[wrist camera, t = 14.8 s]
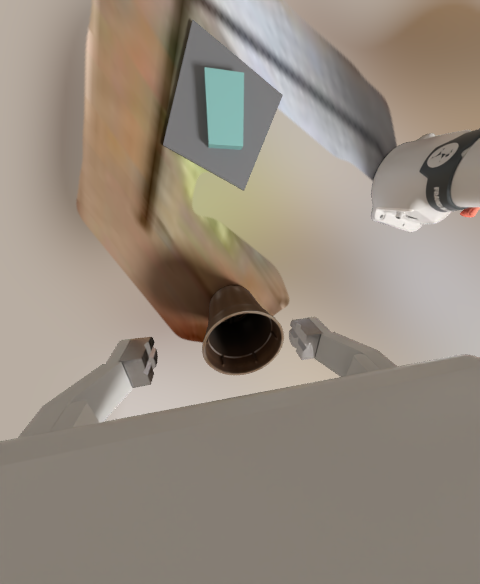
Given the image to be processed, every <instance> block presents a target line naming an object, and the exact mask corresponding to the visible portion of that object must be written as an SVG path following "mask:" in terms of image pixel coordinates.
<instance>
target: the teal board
mask: <svg viewBox="0 0 480 584" xmlns="http://www.w3.org/2000/svg"><path fill="white" fill-rule="evenodd" d="M204 78H205V96H206V114H207V131H208V148H219V149H235V150H241V149H242V147H243V120H244V73H243V72H236V71H229V70H222V69H215V68H207V67H205V69H204Z"/></svg>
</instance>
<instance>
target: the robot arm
mask: <svg viewBox="0 0 480 584" xmlns="http://www.w3.org/2000/svg"><path fill="white" fill-rule="evenodd" d="M371 196H372V203H373V208H372V213H371V219H372V220H374V221H376V222H380V223H383V224H386V225H389V226H392V227H395V228H398V229H401V230H404V231H408V232H414V231H416V230H417V229H419V228H420V227H421V226H423V225H424V224H435V223H438V222H440V221H441V220H443V219H444V218H445V217H447V215H449V214H450V213H451V212H453V211H457V210H462V209H464V210H463V211H462V212H461V213H460V215H462V216H465V217H474V216H475V215H476V213H477V211H478V210H479V209H480V129H479V130H475V131H470V130H464V131H459V132H453V133H448V134H444V135H438V136H435V134H433V133H430V134H426V135H424V136H422V137H421V138H419V139H418V140H416V141H413V142H406V143H403V144H401V145H399V146H397V147H396V148H395V149H393V150H392V151H391V152H390V153H389V154H388V155H387V156H386V157H385V159H384V160H383V161H382V163H381V164H380V166H379V168H378V170H377V172H376V174H375V177H374V180H373V184H372V193H371ZM291 327H292V329H291V330H290V331H289V339H290V342H291V344H292V346H294V347H295V348H297V350H296V352H297V354H298V355H299V357H300V358H301V360H304V359H311V358H315V359H316V360H318V361H319V362H320V363H322V364H323V365H325V366H326V367H328V368H329V369H330V370H332V371H333V372H335V373H336V374H338V375H339V376H341V377H339V378H334V379H329V380H323V381H318V382H313V383H307V384H302V385H297V386H291V387H286V388H281V389H275V390H270V391H265V392H260V393H255V394H249V395H244V396H238V397H233V398H228V399H222V400H217V401H212V402H207V403H201V404H196V405H191V406H185V407H180V408H175V409H169V410H164V411H160V412H154V413H148V414H143V415H138V416H133V417H127V418H122V419H116V420H112V421H106V422H104V421H105V420H106V418H107V417H108V416H109V415H110V414H111V413H112V412H113V411H114V409H115V408H116V407H117V406H118V404H120V402H121V401H122V400H123V399H124V398H125V397H126V396H127V395H128V393H129V392H130V391H131V390H132V389H133V388H135V387H140V386H145V385H150V384H151V381H152V378H153V375H154V372H153V369H154V368H155V367H156V364H157V357H158V356H157V350H156V348H154V347H153V345H154V340H153V338H152V337H147V338H135V339H127V340H121V341H120V342H119V343H118V344H117V346H116V348H115V349H114V351H113V353H112V354H111V356H110V358H109V359H108V361H107V362H106V364H102V365H101V366H99V367H98V368H96V369H95V370H94V371H92V372H91V373H89V374H88V375H87V376H85V377H84V378H82V379H81V380H79V381H78V382H77V383H75V384H74V385H72V386H71V387H69V388H68V389H67V390H65V391H64V392H62V393H61V394H59V395H58V396H57V397H55V398H54V399H52V400H51V401H49V402H48V403H47V404H45V405H44V406H43V407H42V408H41V409H40V411H39V412H38V413H37V414H36V416H35V417H34V418H33V419H32V421H31V422H30V423H29V424H28V426H27V427H26V428H25V429H24V431H23V432H22V433H21V434H20V436H19V437H18V438H16V439H11V440H5V441H0V584H480V357H476V356H472V355H466V354H465V355H455V356H450V357H445V358H440V359H435V360H429V361H424V362H419V363H414V364H408V365H403V366H396V365H395V364H394V363H392V362H391V361H390V360H389V359H388V358H387V357H385V356H384V355H383V354H382V353H380V352H379V351H378V350H376V349H373V348H371V347H368V346H366V345H363V344H361V343H359V342H356V341H354V340H352V339H349V338H347V337H345V336H342V335H340V334H337V333H335V332H331V331H330V330H329V329H328V328H327V327H326V326H324V324H323V323H322V322H321V321H320V320H319V319H318V318H316V317H309V318H303V319H296V320H292V321H291Z"/></svg>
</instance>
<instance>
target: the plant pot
mask: <svg viewBox="0 0 480 584" xmlns="http://www.w3.org/2000/svg"><path fill="white" fill-rule="evenodd" d="M244 313H246V314H245V315H244V316H243V317H241V318H239V317H240V316H242V315H243V314H244ZM283 341H284V333H283V329H282V326H281V325H280V323H279V322H278V321H277V320H276V319H275V318H274V317H273V316H271V315H270V314H269V313H268V312H267V311H266V310H264V309H263V308H262V307H261V306H260V305H259V303H258V302H257V301H256V300H255V298H254V297H253V296H252V295H251V293H250V292H249V291H248V290H247V289H245V288H244V287H241V286H226V287H223V288H221V289H220V290H218V291H217V292H216V293H215V294H214V295H213V297H212V299H211V301H210V306H209V321H208V327H207V331H206V336H205V338H204V341H203V347H202V352H203V357H204V359H205V361H206V363H207V364H208V365H209V366H210V367H212V368H213V369H214V370H216V371H218V372H220V373H223V374H227V375H244V374H249V373H252V372H255V371H257V370H259V369H262V368H263V367H265V366H266V365H268V364H269V363H270V362H271V361H272V360H273V359H274V358H275V357H276V356H277V354H278V353H279V352H280V350H281V348H282V345H283Z"/></svg>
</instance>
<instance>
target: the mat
mask: <svg viewBox="0 0 480 584" xmlns="http://www.w3.org/2000/svg"><path fill="white" fill-rule="evenodd" d="M205 67H207V68H215V69H222V70H229V71H236V72H243V73H244V120H243V147H242V149H241V150H235V149H219V148H208V131H207V114H206V96H205V78H204V69H205ZM281 98H282V94H281V93H279V92H278V91H277V90H276V89H275V88H273V87H272V86H271V85H270V84H269V83H267V82H266V81H265V80H264V79H263V78H262V77H260V76H259V75H258V74H257V73H256V72H254V71H253V70H252V69H251V68H250V67H248V66H247V65H246V64H245V63H244V62H242V61H241V60H240V59H239V58H238V57H237V56H235V55H234V54H233V53H232V52H231V51H229V50H228V49H227V48H226V47H225V46H223V45H222V44H221V43H220V42H219V41H218V40H216V39H215V38H214V37H213V36H212V35H210V34H209V33H208V32H207V31H206V30H204V29H203V28H202V27H201V26H200V25H198V24H197V23H196V22H195V21H194V20H192V24H191V28H190V33H189V37H188V41H187V45H186V50H185V54H184V58H183V62H182V67H181V71H180V75H179V79H178V83H177V88H176V92H175V96H174V100H173V105H172V109H171V113H170V117H169V121H168V126H167V130H166V134H165V138H164V143H163V146H165V147H167V148H168V149H170V150H172V151H174V152H176V153H177V154H179V155H181V156H183V157H184V158H186V159H188V160H190V161H192V162H193V163H195V164H197V165H199V166H200V167H202V168H204V169H206V170H208V171H209V172H211V173H213V174H215V175H217V176H218V177H220V178H222V179H224V180H226V181H227V182H229V183H231V184H233V185H234V186H236V187H238V188H240V189H241V190H244V189H245V187H246V184H247V182H248V179H249V177H250V174H251V172H252V169H253V167H254V164H255V162H256V160H257V157H258V154H259V152H260V150H261V147H262V145H263V142H264V140H265V137H266V135H267V132H268V130H269V127H270V125H271V123H272V120H273V118H274V115H275V112H276V110H277V108H278V105H279V103H280V100H281Z"/></svg>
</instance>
